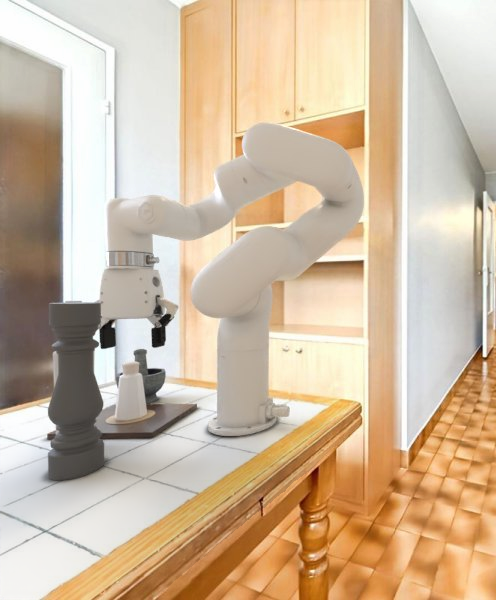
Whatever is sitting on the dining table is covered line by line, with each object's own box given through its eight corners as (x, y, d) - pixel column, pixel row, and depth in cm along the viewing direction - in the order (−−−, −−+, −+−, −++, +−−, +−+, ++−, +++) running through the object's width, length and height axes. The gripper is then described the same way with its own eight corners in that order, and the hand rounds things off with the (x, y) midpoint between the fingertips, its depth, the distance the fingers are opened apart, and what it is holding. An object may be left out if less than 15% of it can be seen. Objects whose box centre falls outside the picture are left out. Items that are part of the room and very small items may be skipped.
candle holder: (55, 485, 48) (53, 304, 47) (42, 472, 51) (40, 302, 51) (111, 466, 53) (109, 303, 53) (95, 455, 56) (94, 302, 56)
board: (197, 408, 79) (197, 403, 79) (152, 437, 63) (152, 431, 63) (114, 408, 78) (114, 403, 78) (47, 439, 62) (46, 433, 62)
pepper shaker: (109, 422, 67) (109, 366, 67) (119, 413, 72) (118, 360, 72) (143, 419, 69) (143, 364, 69) (150, 410, 74) (150, 359, 74)
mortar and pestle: (167, 402, 83) (166, 352, 83) (116, 410, 77) (115, 356, 77) (162, 391, 92) (162, 346, 91) (116, 397, 86) (116, 349, 85)
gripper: (185, 263, 74) (188, 343, 75) (100, 264, 73) (103, 345, 74) (164, 260, 67) (167, 349, 67) (68, 261, 66) (72, 351, 66)
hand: (133, 347), depth 70 cm, fingers open, 9 cm apart
